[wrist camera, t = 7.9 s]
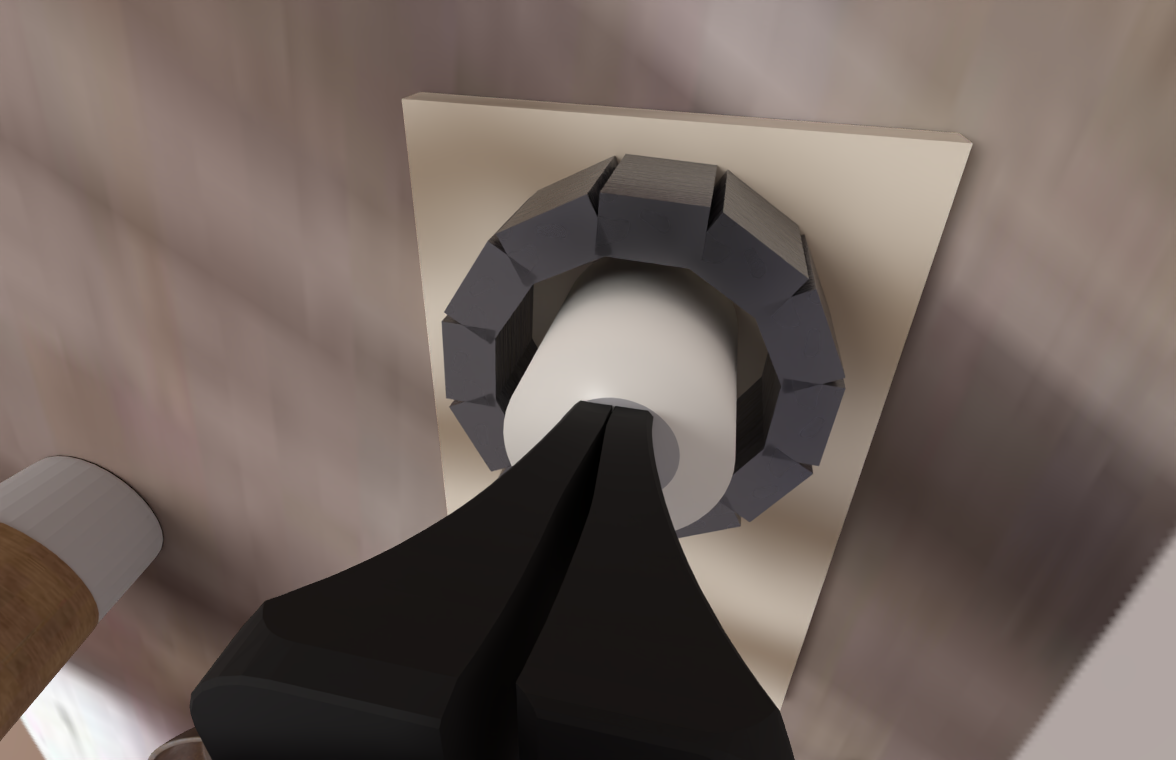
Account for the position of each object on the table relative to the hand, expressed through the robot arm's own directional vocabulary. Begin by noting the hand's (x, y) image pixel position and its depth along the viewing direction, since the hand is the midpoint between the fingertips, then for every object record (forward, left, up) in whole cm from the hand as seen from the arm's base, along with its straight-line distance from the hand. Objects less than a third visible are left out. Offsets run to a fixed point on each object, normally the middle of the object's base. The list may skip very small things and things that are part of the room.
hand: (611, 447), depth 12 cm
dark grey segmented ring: (0, 0, -5) cm, 5 cm away
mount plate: (-4, -3, -6) cm, 8 cm away
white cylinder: (0, 0, -5) cm, 5 cm away
